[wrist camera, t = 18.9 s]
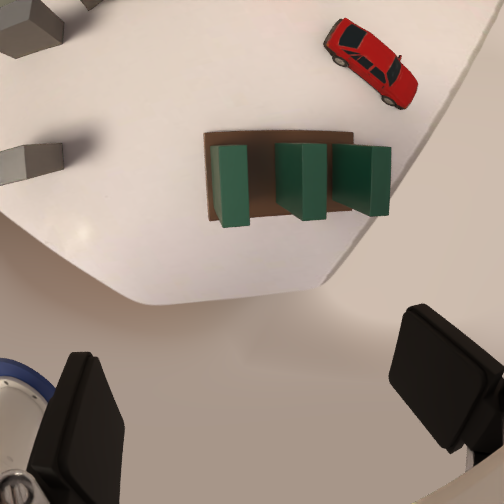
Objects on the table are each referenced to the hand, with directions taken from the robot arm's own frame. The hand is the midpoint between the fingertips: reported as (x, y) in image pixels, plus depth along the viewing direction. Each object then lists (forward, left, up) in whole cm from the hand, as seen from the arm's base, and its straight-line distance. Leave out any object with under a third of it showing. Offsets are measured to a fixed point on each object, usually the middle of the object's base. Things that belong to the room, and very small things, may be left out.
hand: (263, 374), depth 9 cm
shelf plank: (+3, -10, -30) cm, 32 cm away
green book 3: (+3, -17, -29) cm, 33 cm away
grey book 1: (+23, +20, -30) cm, 43 cm away
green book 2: (+3, -10, -29) cm, 30 cm away
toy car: (+17, -22, -30) cm, 41 cm away
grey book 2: (+7, +20, -30) cm, 37 cm away
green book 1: (+3, -2, -29) cm, 29 cm away
